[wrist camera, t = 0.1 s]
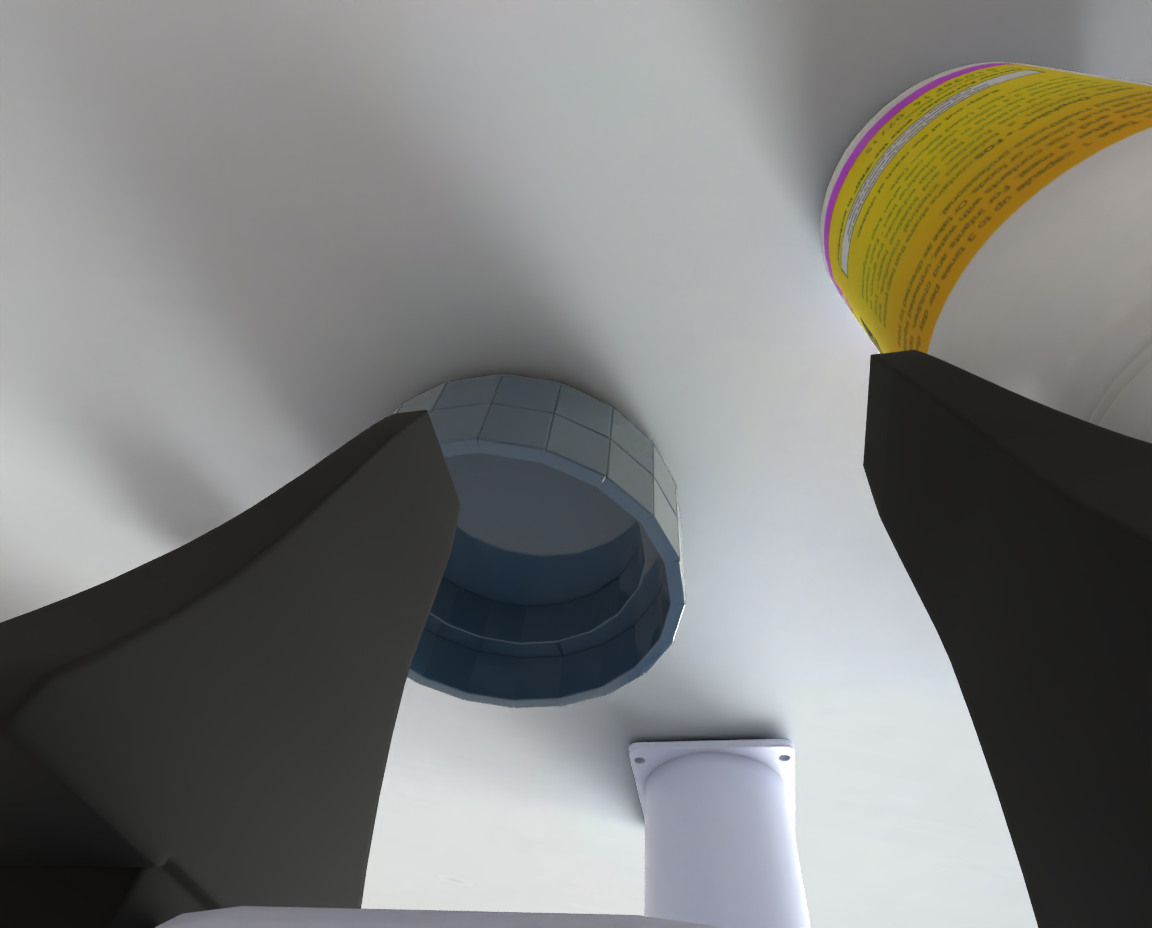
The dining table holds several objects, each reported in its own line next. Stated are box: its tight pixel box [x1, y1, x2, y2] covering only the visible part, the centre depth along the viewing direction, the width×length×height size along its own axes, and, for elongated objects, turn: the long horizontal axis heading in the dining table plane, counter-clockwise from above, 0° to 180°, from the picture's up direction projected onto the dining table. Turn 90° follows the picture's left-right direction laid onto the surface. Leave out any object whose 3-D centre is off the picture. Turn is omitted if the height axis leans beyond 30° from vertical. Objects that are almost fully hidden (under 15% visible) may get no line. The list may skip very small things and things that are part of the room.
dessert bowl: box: [393, 374, 686, 708], centre depth 23 cm, size 12×12×4 cm
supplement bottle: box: [820, 62, 1152, 443], centre depth 12 cm, size 7×7×13 cm
